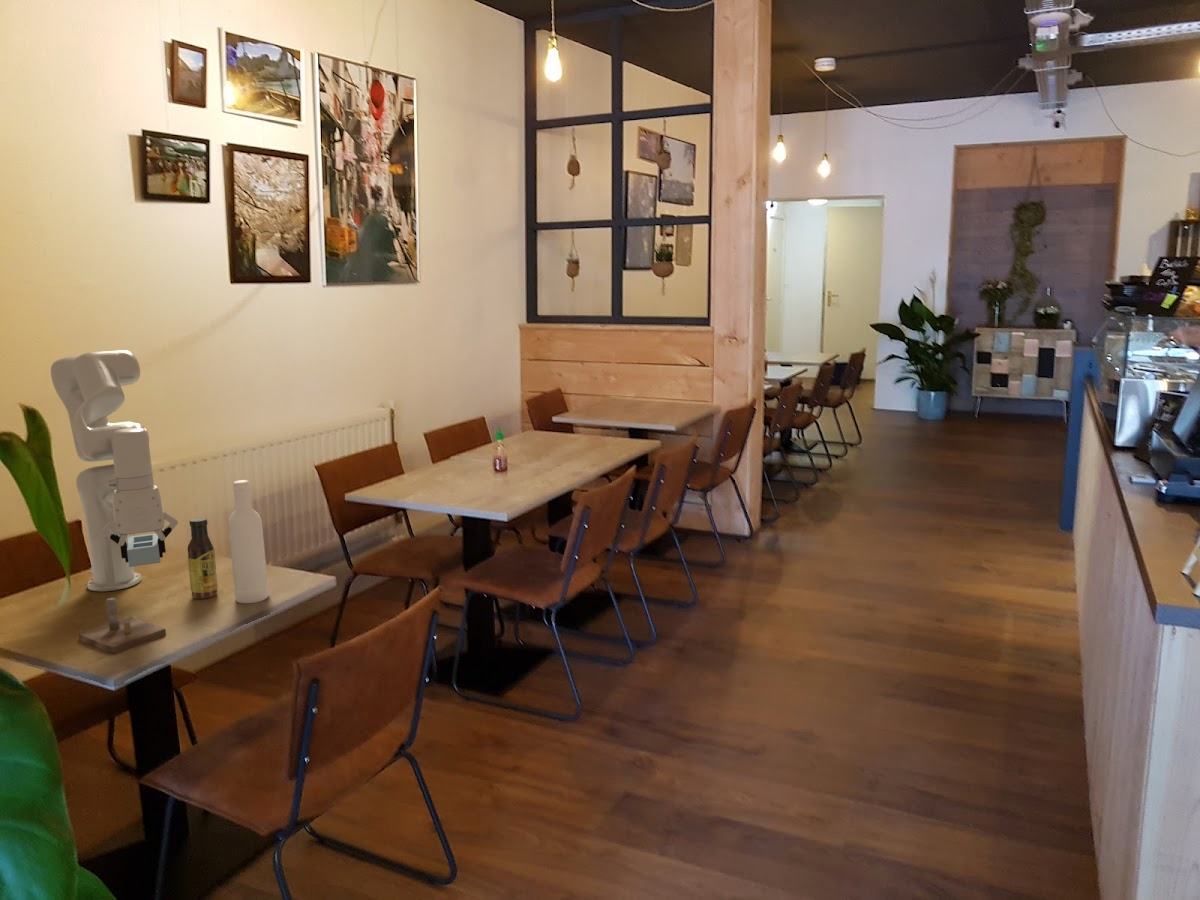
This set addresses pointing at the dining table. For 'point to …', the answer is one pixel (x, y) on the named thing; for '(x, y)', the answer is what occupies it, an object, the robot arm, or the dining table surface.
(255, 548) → the bottle
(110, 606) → the post block
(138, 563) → the hollow blue brick
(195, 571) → the sauce bottle
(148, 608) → the dining table surface
